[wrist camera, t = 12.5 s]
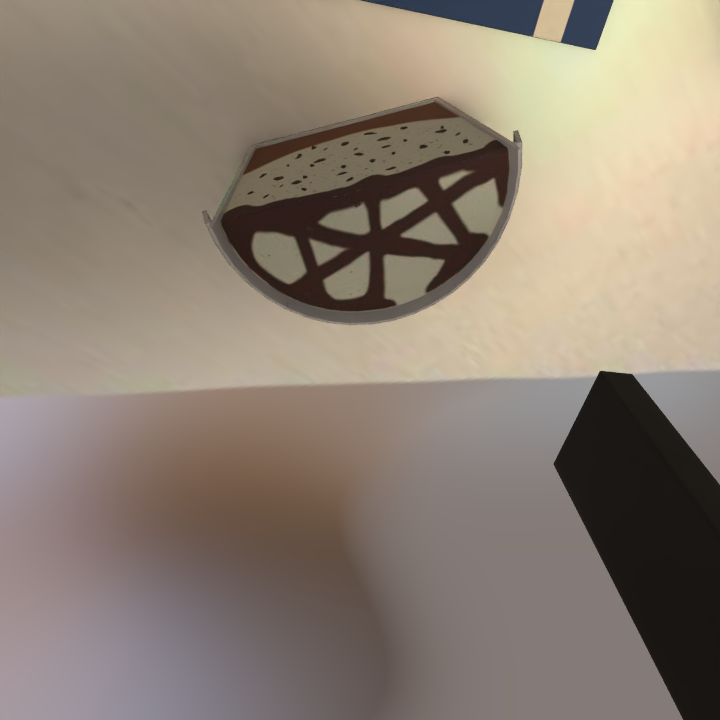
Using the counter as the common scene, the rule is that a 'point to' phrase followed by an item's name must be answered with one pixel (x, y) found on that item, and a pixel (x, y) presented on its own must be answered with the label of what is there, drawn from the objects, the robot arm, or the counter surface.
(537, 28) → the cloth
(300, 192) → the food container
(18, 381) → the counter surface
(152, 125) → the counter surface
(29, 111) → the counter surface
